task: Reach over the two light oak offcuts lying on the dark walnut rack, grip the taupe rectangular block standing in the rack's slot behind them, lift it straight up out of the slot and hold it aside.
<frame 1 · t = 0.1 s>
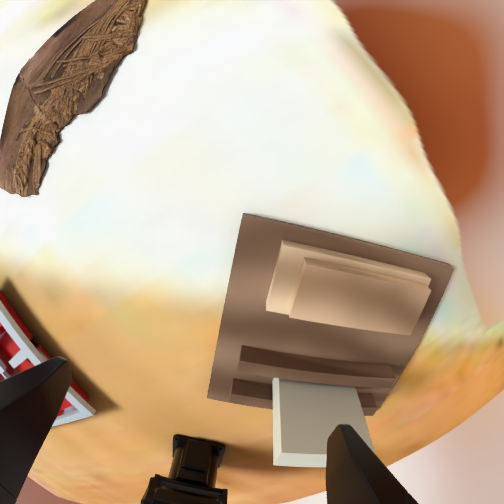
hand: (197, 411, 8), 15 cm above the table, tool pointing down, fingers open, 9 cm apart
taupe rectangular block: (312, 378, 24), point 1 cm above the table, touching walnut rack
wooden fragment: (62, 78, 17), on the table
walnut rack: (325, 338, 24), on the table
upper oak offcut: (361, 296, 20), point 2 cm above the table, touching lower oak offcut
lower oak offcut: (350, 288, 21), point 1 cm above the table, touching upper oak offcut, walnut rack
maze game: (10, 371, 31), on the table
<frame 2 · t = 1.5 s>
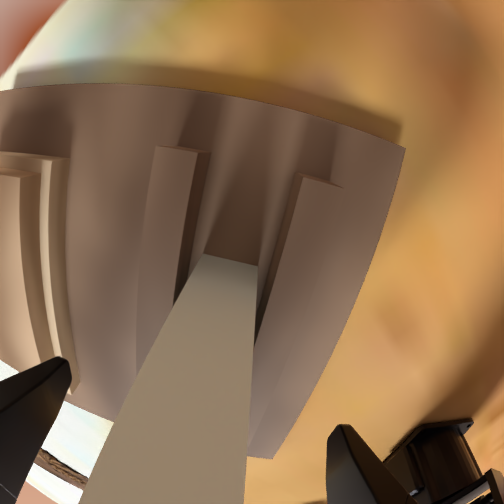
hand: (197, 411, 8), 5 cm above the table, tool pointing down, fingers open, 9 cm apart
taupe rectangular block: (213, 337, 12), point 1 cm above the table, touching walnut rack
wooden fragment: (18, 434, 21), on the table
walnut rack: (131, 301, 12), on the table
upper oak offcut: (14, 279, 10), point 2 cm above the table, touching lower oak offcut
lower oak offcut: (30, 278, 11), point 1 cm above the table, touching upper oak offcut, walnut rack
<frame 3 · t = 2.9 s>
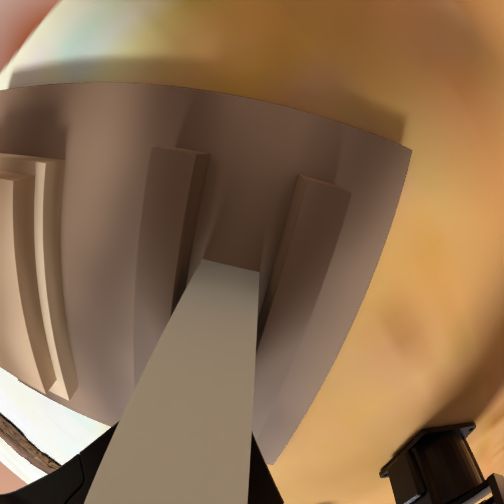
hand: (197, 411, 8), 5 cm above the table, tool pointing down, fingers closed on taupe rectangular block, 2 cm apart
taupe rectangular block: (213, 345, 11), point 1 cm above the table, touching gripper, walnut rack
wooden fragment: (17, 436, 21), on the table
walnut rack: (129, 307, 12), on the table
upper oak offcut: (10, 284, 9), point 2 cm above the table, touching lower oak offcut
lower oak offcut: (26, 283, 11), point 1 cm above the table, touching upper oak offcut, walnut rack
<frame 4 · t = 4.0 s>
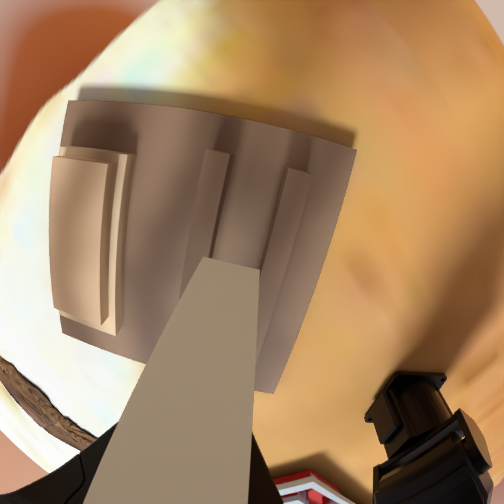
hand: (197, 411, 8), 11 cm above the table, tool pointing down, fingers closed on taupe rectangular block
taupe rectangular block: (214, 342, 11), point 8 cm above the table, touching gripper
wooden fragment: (39, 404, 27), on the table
walnut rack: (172, 256, 18), on the table
upper oak offcut: (83, 240, 16), point 2 cm above the table, touching lower oak offcut
lower oak offcut: (92, 241, 17), point 1 cm above the table, touching upper oak offcut, walnut rack
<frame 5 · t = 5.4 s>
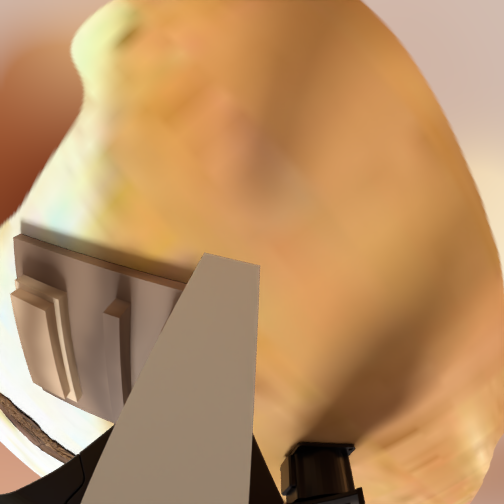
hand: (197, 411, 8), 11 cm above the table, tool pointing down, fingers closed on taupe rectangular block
taupe rectangular block: (215, 337, 11), point 7 cm above the table, touching gripper
wooden fragment: (32, 428, 30), on the table
walnut rack: (107, 356, 21), on the table
upper oak offcut: (44, 344, 19), point 2 cm above the table, touching lower oak offcut
lower oak offcut: (52, 341, 20), point 1 cm above the table, touching upper oak offcut, walnut rack
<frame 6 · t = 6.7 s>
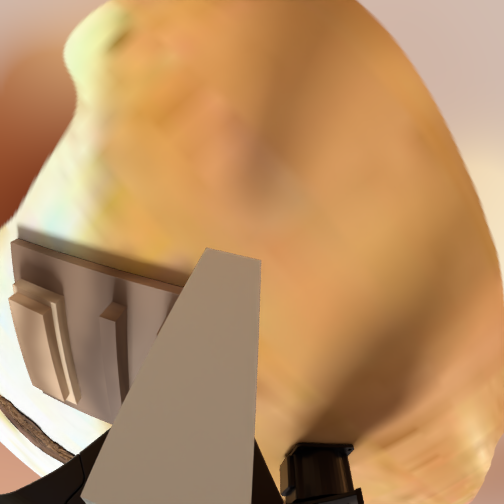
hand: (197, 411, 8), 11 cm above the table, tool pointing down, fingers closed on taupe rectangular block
taupe rectangular block: (216, 332, 12), point 7 cm above the table, touching gripper
wooden fragment: (34, 430, 30), on the table
walnut rack: (105, 359, 21), on the table
upper oak offcut: (42, 348, 19), point 2 cm above the table, touching lower oak offcut
lower oak offcut: (50, 344, 20), point 1 cm above the table, touching upper oak offcut, walnut rack
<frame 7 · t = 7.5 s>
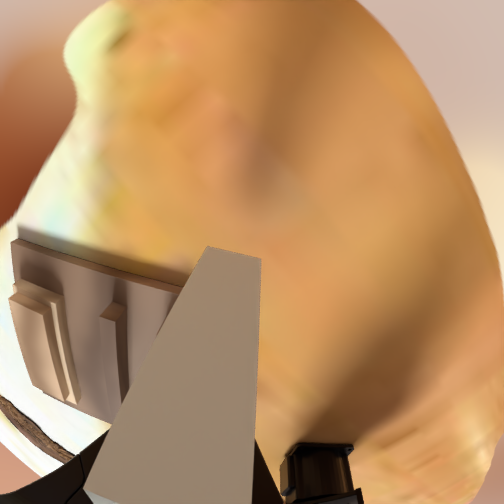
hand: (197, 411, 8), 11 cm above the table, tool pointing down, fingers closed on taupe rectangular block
taupe rectangular block: (217, 330, 12), point 7 cm above the table, touching gripper
wooden fragment: (34, 430, 30), on the table
walnut rack: (105, 359, 21), on the table
upper oak offcut: (42, 348, 19), point 2 cm above the table, touching lower oak offcut
lower oak offcut: (50, 344, 20), point 1 cm above the table, touching upper oak offcut, walnut rack
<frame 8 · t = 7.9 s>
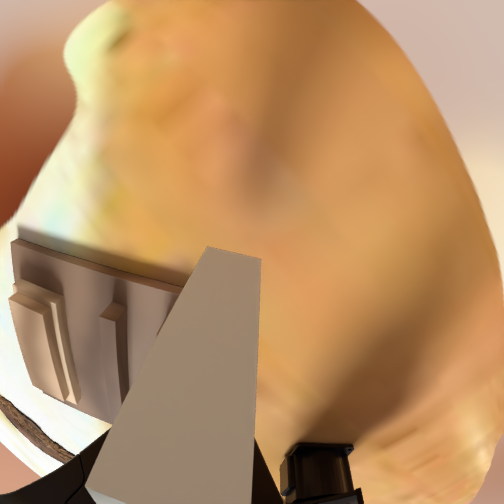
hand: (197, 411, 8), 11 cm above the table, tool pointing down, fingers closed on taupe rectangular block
taupe rectangular block: (217, 330, 12), point 7 cm above the table, touching gripper
wooden fragment: (34, 430, 30), on the table
walnut rack: (105, 359, 21), on the table
upper oak offcut: (42, 348, 19), point 2 cm above the table, touching lower oak offcut
lower oak offcut: (50, 344, 20), point 1 cm above the table, touching upper oak offcut, walnut rack
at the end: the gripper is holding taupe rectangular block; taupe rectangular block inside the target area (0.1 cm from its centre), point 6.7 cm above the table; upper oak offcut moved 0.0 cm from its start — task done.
